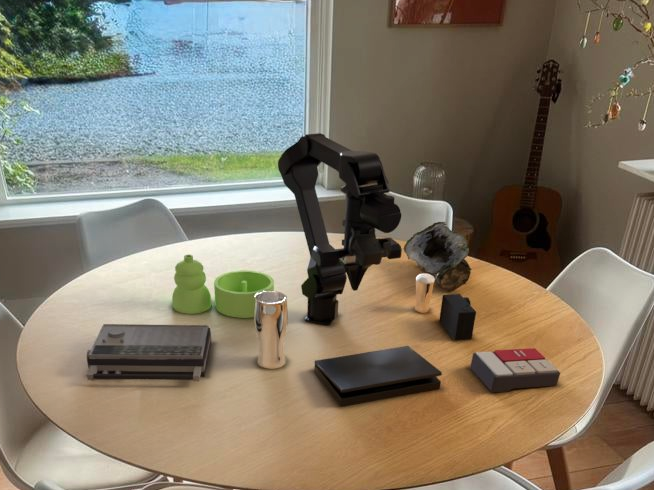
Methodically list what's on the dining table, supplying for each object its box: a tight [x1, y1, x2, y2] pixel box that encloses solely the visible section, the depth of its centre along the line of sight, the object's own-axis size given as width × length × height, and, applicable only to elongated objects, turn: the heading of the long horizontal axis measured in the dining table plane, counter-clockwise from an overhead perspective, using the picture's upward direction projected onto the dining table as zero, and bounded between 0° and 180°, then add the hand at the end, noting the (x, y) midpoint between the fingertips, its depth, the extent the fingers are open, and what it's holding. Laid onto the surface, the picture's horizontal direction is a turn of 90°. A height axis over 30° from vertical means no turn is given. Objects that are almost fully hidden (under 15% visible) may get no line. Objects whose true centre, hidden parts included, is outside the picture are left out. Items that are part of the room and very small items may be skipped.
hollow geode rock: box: [403, 221, 473, 293], centre depth 194 cm, size 28×13×15 cm
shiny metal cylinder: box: [414, 273, 439, 314], centre depth 178 cm, size 5×5×10 cm
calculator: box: [469, 347, 561, 393], centre depth 153 cm, size 11×4×15 cm
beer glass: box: [253, 290, 289, 370], centre depth 153 cm, size 7×7×15 cm
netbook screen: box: [314, 345, 443, 393], centre depth 150 cm, size 15×22×1 cm
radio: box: [86, 323, 212, 382], centre depth 155 cm, size 24×5×20 cm
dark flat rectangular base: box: [313, 364, 442, 408], centre depth 151 cm, size 15×22×2 cm
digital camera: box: [438, 293, 477, 341], centre depth 170 cm, size 10×5×7 cm, turn 12°
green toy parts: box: [171, 254, 275, 319], centre depth 177 cm, size 25×14×13 cm, turn 93°
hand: (354, 289), depth 160 cm, fingers closed
